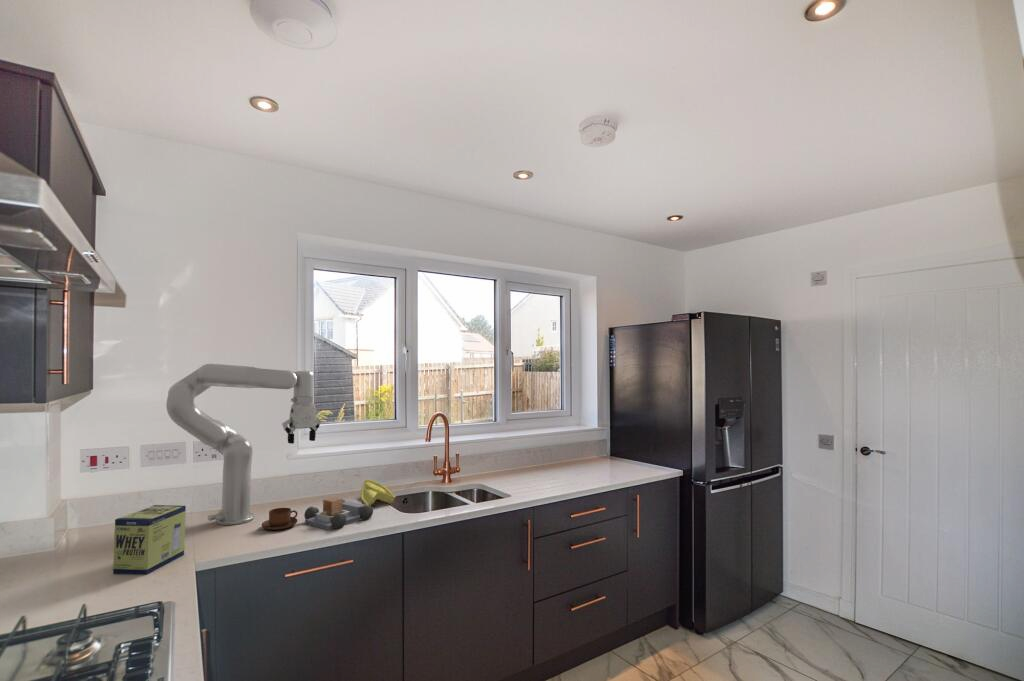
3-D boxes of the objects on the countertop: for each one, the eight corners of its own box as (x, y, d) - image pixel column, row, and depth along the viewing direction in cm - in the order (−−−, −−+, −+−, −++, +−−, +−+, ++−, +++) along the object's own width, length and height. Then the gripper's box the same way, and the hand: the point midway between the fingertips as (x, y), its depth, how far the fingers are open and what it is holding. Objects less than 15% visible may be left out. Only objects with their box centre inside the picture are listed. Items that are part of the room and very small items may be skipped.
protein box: (111, 574, 142) (113, 519, 143) (153, 554, 158) (155, 504, 159) (146, 575, 142) (148, 519, 143) (185, 554, 157) (186, 504, 158)
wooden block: (331, 520, 187) (331, 501, 188) (322, 518, 190) (323, 499, 190) (342, 517, 191) (342, 498, 192) (333, 515, 194) (334, 496, 194)
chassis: (332, 531, 180) (332, 516, 180) (302, 522, 189) (302, 508, 190) (374, 516, 197) (375, 503, 197) (345, 510, 206) (345, 497, 207)
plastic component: (397, 498, 217) (376, 490, 212) (388, 514, 215) (367, 507, 210) (383, 484, 234) (363, 477, 229) (375, 500, 232) (355, 493, 228)
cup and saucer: (284, 520, 193) (284, 504, 193) (304, 525, 187) (304, 508, 187) (254, 529, 183) (255, 512, 183) (274, 534, 176) (275, 517, 177)
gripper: (289, 402, 199) (287, 445, 198) (326, 400, 213) (325, 440, 212) (278, 401, 203) (276, 443, 202) (315, 399, 218) (314, 438, 217)
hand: (301, 441), depth 207 cm, fingers open, 9 cm apart
